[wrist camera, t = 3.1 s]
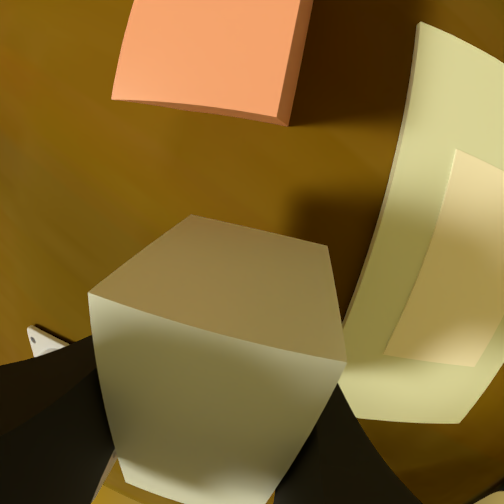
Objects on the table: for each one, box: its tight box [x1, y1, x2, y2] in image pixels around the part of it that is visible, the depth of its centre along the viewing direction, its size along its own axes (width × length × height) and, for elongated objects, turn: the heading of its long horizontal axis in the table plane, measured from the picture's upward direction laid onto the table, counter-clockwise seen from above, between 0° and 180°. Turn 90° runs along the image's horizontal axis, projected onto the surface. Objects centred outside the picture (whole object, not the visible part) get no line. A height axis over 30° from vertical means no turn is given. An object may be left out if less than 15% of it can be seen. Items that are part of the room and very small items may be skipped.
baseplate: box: [338, 21, 504, 424], centre depth 11 cm, size 18×10×1 cm, turn 169°
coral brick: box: [111, 0, 313, 127], centre depth 7 cm, size 7×4×5 cm, turn 169°
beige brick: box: [88, 215, 347, 504], centre depth 8 cm, size 7×4×5 cm, turn 169°
